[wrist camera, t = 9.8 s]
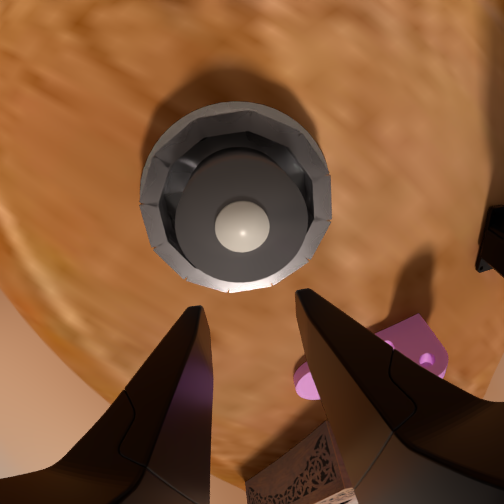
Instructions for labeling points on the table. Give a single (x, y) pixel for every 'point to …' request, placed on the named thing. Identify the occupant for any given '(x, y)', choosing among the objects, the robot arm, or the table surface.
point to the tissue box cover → (305, 474)
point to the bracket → (400, 338)
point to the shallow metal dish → (217, 138)
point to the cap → (240, 216)
